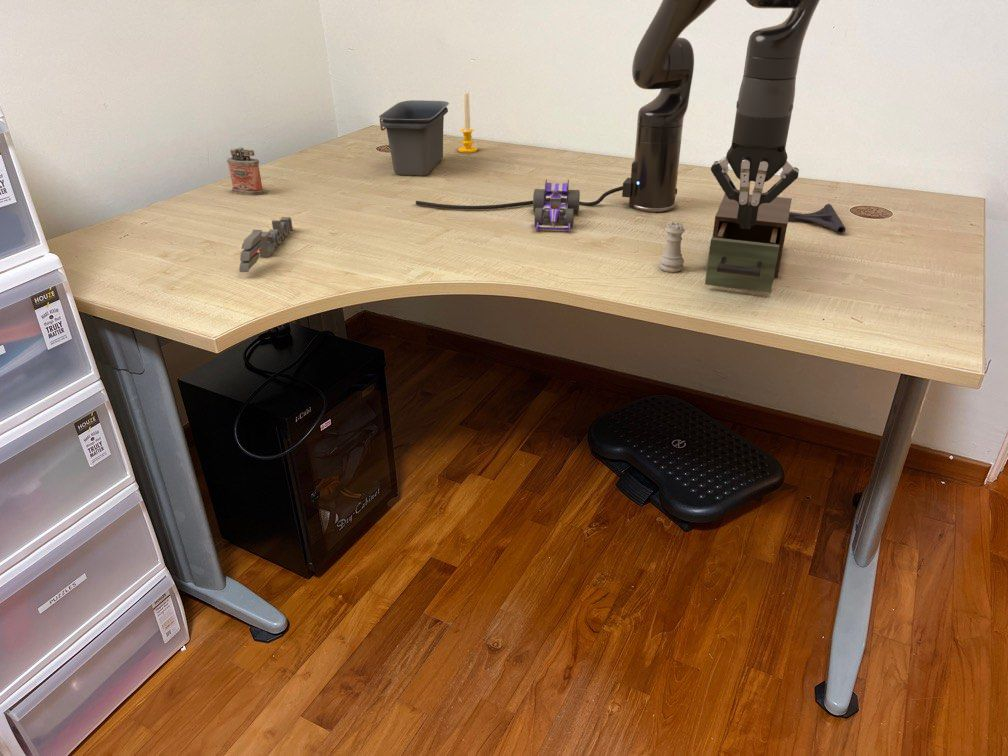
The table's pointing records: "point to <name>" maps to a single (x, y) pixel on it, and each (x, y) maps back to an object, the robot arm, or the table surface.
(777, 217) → the cabinet
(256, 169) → the lighter
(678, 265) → the rook chess piece
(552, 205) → the toy race car
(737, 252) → the drawer
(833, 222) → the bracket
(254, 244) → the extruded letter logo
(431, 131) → the storage bin
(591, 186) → the table surface
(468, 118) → the candle
